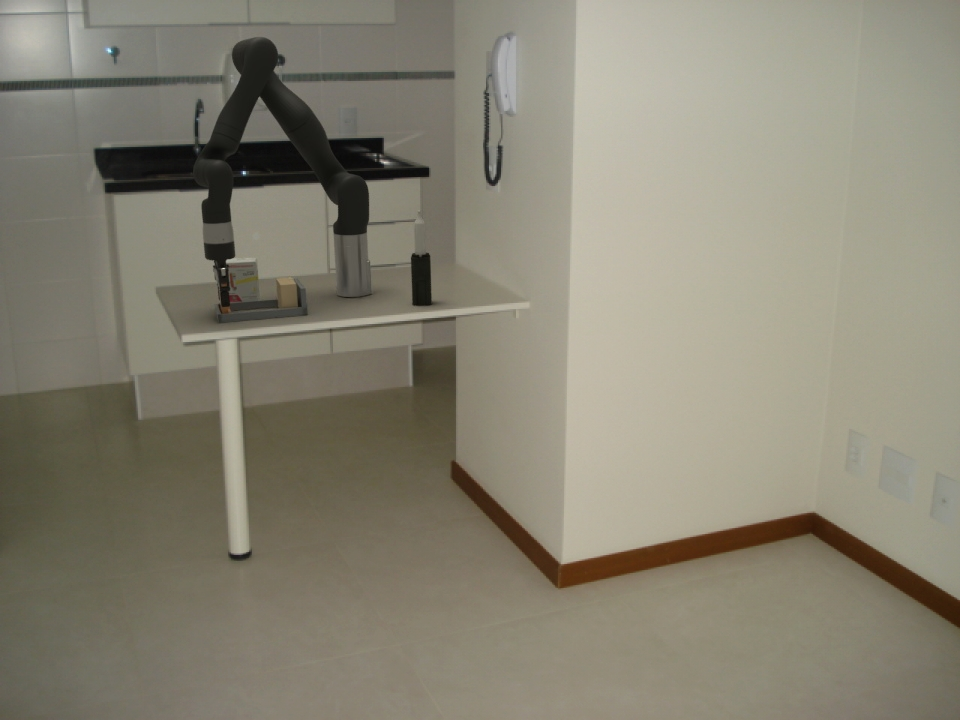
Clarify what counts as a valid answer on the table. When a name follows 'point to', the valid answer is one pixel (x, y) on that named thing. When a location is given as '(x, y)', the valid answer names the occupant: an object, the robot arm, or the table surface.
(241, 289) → the ink box
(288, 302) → the kraft carton
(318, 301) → the table surface
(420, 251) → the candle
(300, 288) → the grey shallow tray
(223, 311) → the pusher
